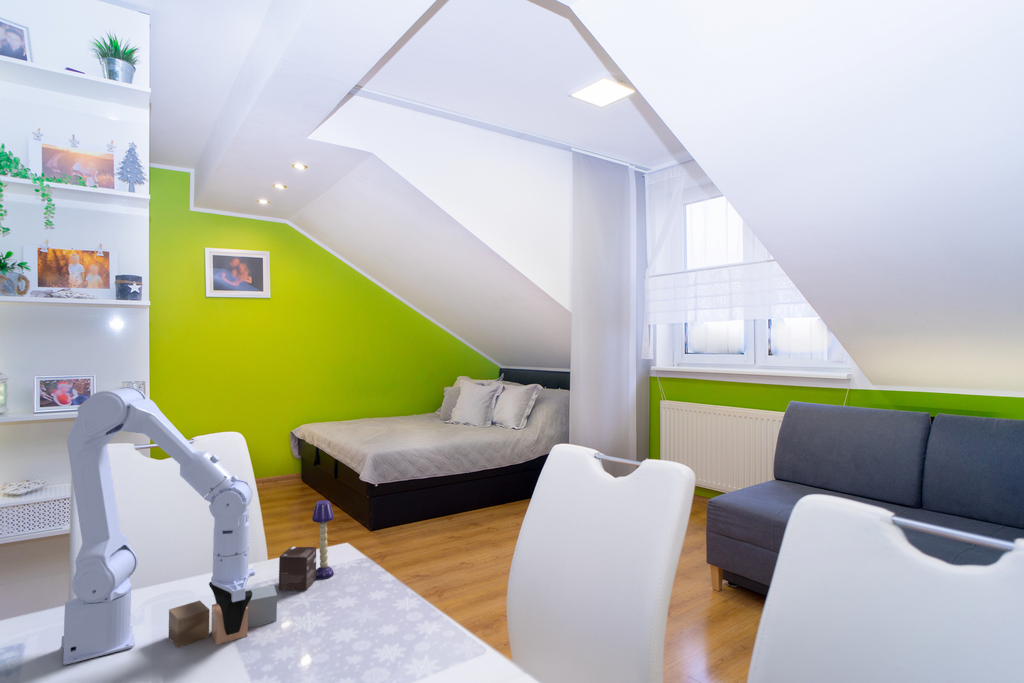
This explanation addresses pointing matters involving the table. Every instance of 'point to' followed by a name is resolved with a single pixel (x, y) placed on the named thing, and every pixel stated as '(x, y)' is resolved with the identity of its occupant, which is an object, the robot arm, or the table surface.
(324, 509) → the toy lamp
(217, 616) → the terracotta block
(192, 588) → the table surface
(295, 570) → the box
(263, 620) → the slate block
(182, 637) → the walnut block
